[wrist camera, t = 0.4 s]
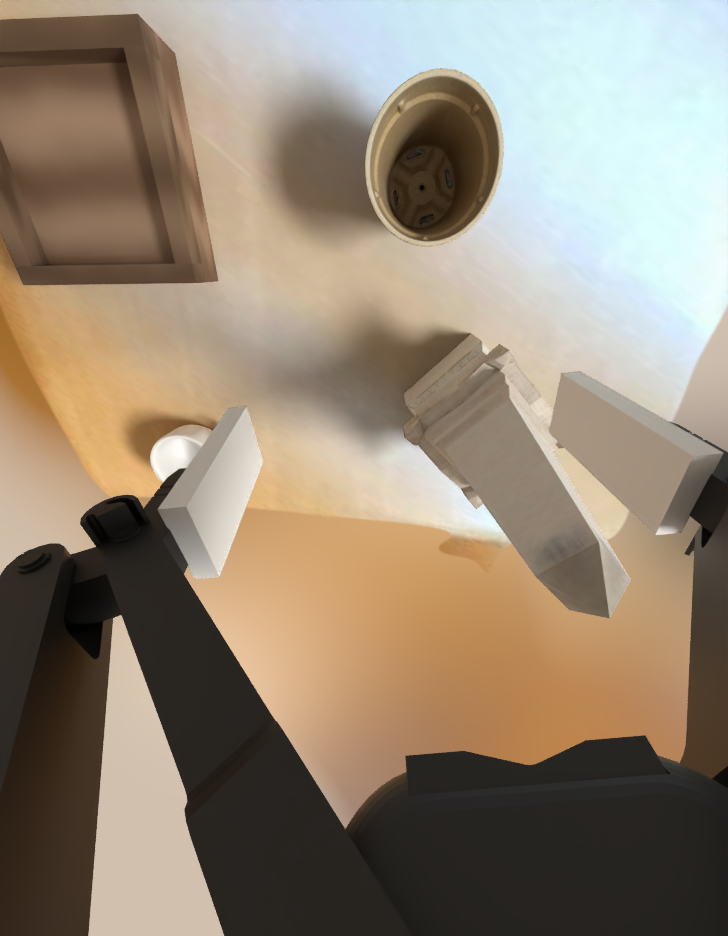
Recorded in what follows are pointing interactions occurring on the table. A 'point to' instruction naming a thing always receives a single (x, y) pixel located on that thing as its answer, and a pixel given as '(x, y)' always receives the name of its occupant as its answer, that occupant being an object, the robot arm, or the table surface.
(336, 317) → the table surface
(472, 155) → the flower pot
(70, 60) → the walnut stand
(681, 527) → the robot arm
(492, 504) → the miniature monument
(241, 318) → the table surface
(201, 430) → the teacup
